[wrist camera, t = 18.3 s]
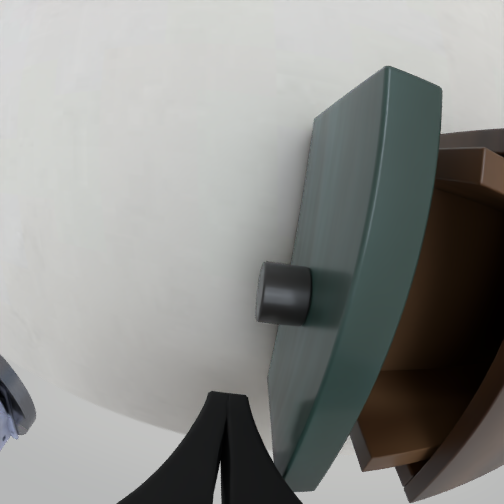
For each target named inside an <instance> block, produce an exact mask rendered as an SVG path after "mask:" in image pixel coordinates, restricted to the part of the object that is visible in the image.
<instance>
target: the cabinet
mask: <svg viewBox="0 0 504 504" xmlns="http://www.w3.org/2000/svg"><path fill="white" fill-rule="evenodd" d="M459 147H485V148H487V149H489V150H491V151H493V152H495V153H496V154H498V155H500V156H502V157H504V128H503V129H488V130H476V131H465V132H455V133H446V134H440V143H439V148H459ZM502 465H504V339H503V341H502V343H501V346H500V348H499V350H498V352H497V354H496V356H495V358H494V360H493V362H492V364H491V366H490V368H489V370H488V372H487V374H486V376H485V378H484V379H483V381H482V383H481V385H480V386H479V388H478V390H477V392H476V393H475V395H474V397H473V398H472V400H471V402H470V403H469V405H468V406H467V408H466V410H465V411H464V413H463V414H462V416H461V417H460V419H459V420H458V422H457V423H456V425H455V426H454V427H453V429H452V430H451V432H450V433H449V434H448V436H447V437H446V439H445V440H444V441H443V443H442V444H441V445H440V446H439V448H438V449H437V450H436V452H435V453H434V454H433V455H432V457H431V458H430V459H426V460H422V461H418V462H414V463H410V464H405V465H400V466H395V469H396V471H397V473H398V476H399V478H400V481H401V483H402V486H404V491H405V493H406V496H407V498H408V501H409V503H412V502H416V501H419V500H422V499H425V498H428V497H431V496H434V495H437V494H440V493H442V492H445V491H448V490H450V489H453V488H455V487H458V486H460V485H463V484H465V483H467V482H469V481H471V480H474V479H476V478H478V477H481V476H482V475H485V474H487V473H489V472H491V471H493V470H495V469H497V468H498V467H500V466H502Z"/></svg>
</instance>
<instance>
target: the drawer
mask: <svg viewBox="0 0 504 504" xmlns="http://www.w3.org/2000/svg"><path fill="white" fill-rule="evenodd" d="M441 116H442V88H440V87H439V86H437V85H435V84H433V83H431V82H428V81H426V80H424V79H421V78H419V77H417V76H414V75H412V74H409V73H407V72H404V71H402V70H399V69H397V68H394V67H391V66H385V67H383V68H382V69H380V70H379V71H378V72H376V73H375V74H373V75H372V76H371V77H369V78H368V79H366V80H365V81H364V82H362V83H361V84H359V85H358V86H357V87H355V88H354V89H353V90H351V91H350V92H349V93H347V94H346V95H345V96H343V97H342V98H341V99H339V100H338V101H337V102H335V103H334V104H333V105H331V106H330V107H329V108H327V109H326V110H325V111H324V112H322V113H321V114H320V115H318V116H317V117H316V118H315V119H314V124H313V131H312V138H311V145H310V152H309V159H308V166H307V172H306V179H305V185H304V191H303V197H302V204H301V210H300V216H299V221H298V227H297V233H296V239H295V244H294V250H293V255H292V261H291V265H290V264H282V263H275V262H267V261H266V262H264V263H263V265H262V268H261V272H260V277H259V283H258V290H257V298H256V310H255V318H256V321H257V322H260V323H269V324H278V325H279V326H278V331H277V336H276V341H275V345H274V350H273V354H272V359H271V363H270V368H269V372H268V377H267V381H268V393H269V406H270V419H271V432H272V446H273V458H274V464H275V466H276V468H277V469H278V471H279V473H280V474H281V476H282V477H283V479H284V480H285V482H286V483H287V484H288V486H289V487H290V488H291V490H292V491H293V492H305V491H306V492H307V491H314V490H315V489H316V488H317V486H318V485H319V483H320V482H321V480H322V479H323V477H324V476H325V474H326V473H327V471H328V469H329V468H330V466H331V464H332V463H333V461H334V460H335V458H336V456H337V455H338V453H339V451H340V450H341V448H342V446H343V445H344V443H345V441H346V439H347V437H348V436H349V434H350V437H351V440H352V443H353V446H354V449H355V452H356V455H357V458H358V461H359V464H360V467H361V470H362V472H366V471H372V470H379V469H385V468H390V467H395V466H400V465H405V464H410V463H414V462H418V461H422V460H426V459H430V458H431V457H432V455H433V454H434V453H435V452H436V450H437V449H438V448H439V446H440V445H441V444H442V443H443V441H444V440H445V439H446V437H447V436H448V434H449V433H450V432H451V430H452V429H453V427H454V426H455V425H456V423H457V422H458V420H459V419H460V417H461V416H462V414H463V413H464V411H465V410H466V408H467V406H468V405H469V403H470V402H471V400H472V398H473V397H474V395H475V393H476V392H477V390H478V388H479V386H480V385H481V383H482V381H483V379H484V378H485V376H486V374H487V372H488V370H489V368H490V366H491V364H492V362H493V360H494V358H495V356H496V354H497V352H498V350H499V348H500V346H501V343H502V341H503V339H504V157H502V156H500V155H498V154H496V153H495V152H493V151H491V150H489V149H487V148H485V147H459V148H439V143H440V131H441Z"/></svg>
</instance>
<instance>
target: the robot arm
mask: <svg viewBox="0 0 504 504" xmlns="http://www.w3.org/2000/svg"><path fill="white" fill-rule="evenodd" d="M10 436H12V437H13V438H15V439H18V434H17V430H16V427H15V424H14V420H13V416H12V413H11V409H10V405H9V401H8V396H7V392H6V390H5V389H4V388H3V387H2V386H1V385H0V451H1V449H2V448H3V446H4V445H5V443H6V442H7V440H8V439H9V438H10ZM220 460H221V496H222V497H221V498H222V504H303V503H302V502H301V501H300V500H299V499H298V497H297V496H296V495H295V494H294V492H293V491H292V490H291V488H290V487H289V486H288V484H287V483H286V482H285V480H284V479H283V477H282V476H281V474H280V473H279V471H278V469H277V468H276V466H275V464H274V463H273V461H272V459H271V457H270V456H269V454H268V452H267V450H266V448H265V446H264V443H263V441H262V439H261V437H260V434H259V432H258V430H257V427H256V425H255V422H254V419H253V416H252V413H251V409H250V405H249V400H248V397H247V396H246V395H240V394H231V393H223V392H215V391H211V392H209V393H208V396H207V399H206V401H205V404H204V406H203V408H202V410H201V412H200V414H199V415H198V417H197V419H196V421H195V422H194V424H193V425H192V427H191V429H190V430H189V432H188V433H187V435H186V436H185V438H184V439H183V440H182V442H181V443H180V444H179V446H178V447H177V448H176V450H175V451H174V452H173V453H172V455H171V456H170V457H169V458H168V459H167V460H166V461H165V462H164V464H162V466H161V467H160V468H159V469H158V470H157V471H156V472H155V473H154V474H153V475H152V476H150V477H149V478H148V479H147V480H146V481H145V482H144V483H143V484H142V485H141V486H139V487H138V488H137V489H136V490H135V491H133V492H132V493H130V494H129V495H128V496H126V497H125V498H124V499H122V500H121V501H119V502H118V503H117V504H213V494H214V489H215V484H216V479H217V474H218V470H219V464H220Z"/></svg>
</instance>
